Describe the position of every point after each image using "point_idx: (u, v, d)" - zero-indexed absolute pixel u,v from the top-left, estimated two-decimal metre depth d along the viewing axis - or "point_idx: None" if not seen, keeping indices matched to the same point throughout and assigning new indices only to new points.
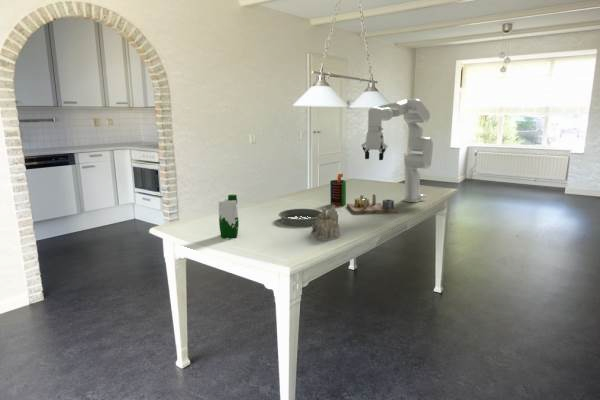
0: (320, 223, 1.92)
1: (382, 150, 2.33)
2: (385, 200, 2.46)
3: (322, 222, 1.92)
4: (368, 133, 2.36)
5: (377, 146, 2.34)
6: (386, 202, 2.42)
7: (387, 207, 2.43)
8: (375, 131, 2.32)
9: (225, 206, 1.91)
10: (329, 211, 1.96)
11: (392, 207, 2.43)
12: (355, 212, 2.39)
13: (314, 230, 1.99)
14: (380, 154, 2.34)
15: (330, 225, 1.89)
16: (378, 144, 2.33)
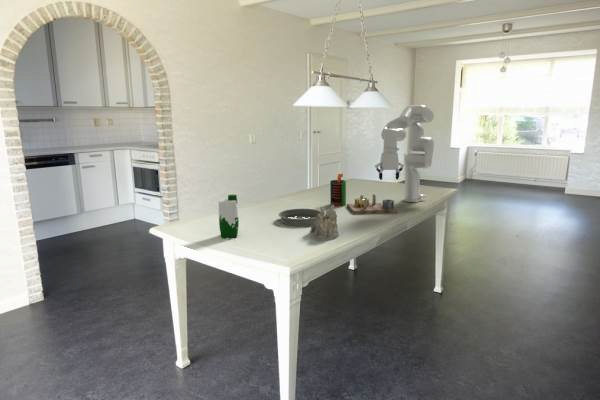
0: (319, 223, 1.93)
1: (400, 169, 2.41)
2: (385, 200, 2.46)
3: (321, 222, 1.92)
4: (386, 154, 2.37)
5: (396, 166, 2.39)
6: (386, 202, 2.42)
7: (387, 207, 2.43)
8: (395, 152, 2.37)
9: (225, 206, 1.91)
10: (328, 211, 1.97)
11: (392, 207, 2.43)
12: (355, 212, 2.39)
13: (313, 230, 2.00)
14: None
15: (329, 225, 1.90)
16: (397, 164, 2.39)
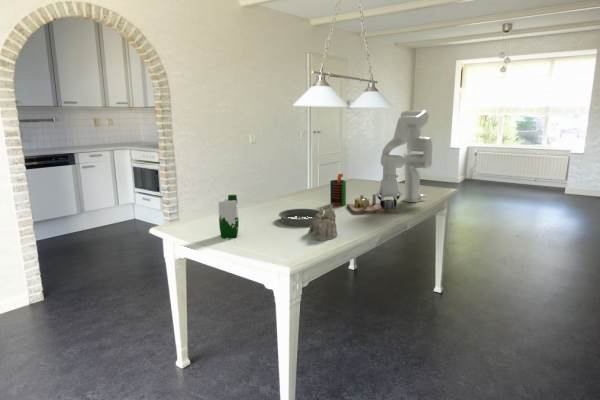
0: (318, 223, 1.93)
1: (397, 197, 2.44)
2: (385, 200, 2.46)
3: (320, 222, 1.93)
4: (385, 181, 2.40)
5: (395, 193, 2.42)
6: (386, 202, 2.42)
7: (387, 207, 2.43)
8: (394, 179, 2.40)
9: (225, 206, 1.91)
10: (326, 211, 1.97)
11: (392, 207, 2.43)
12: (355, 212, 2.39)
13: (311, 230, 2.00)
14: (395, 201, 2.44)
15: (328, 225, 1.90)
16: (396, 191, 2.42)
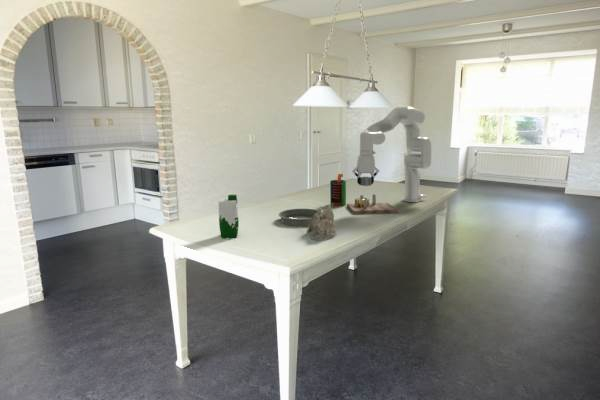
0: (316, 223, 1.93)
1: (374, 174, 2.40)
2: (362, 177, 2.41)
3: (318, 222, 1.93)
4: (362, 157, 2.36)
5: (372, 169, 2.38)
6: (363, 179, 2.38)
7: (364, 184, 2.38)
8: (371, 155, 2.36)
9: (225, 206, 1.91)
10: (325, 211, 1.97)
11: (369, 184, 2.39)
12: (355, 212, 2.39)
13: (310, 230, 2.00)
14: (372, 178, 2.40)
15: (326, 225, 1.90)
16: (373, 167, 2.38)
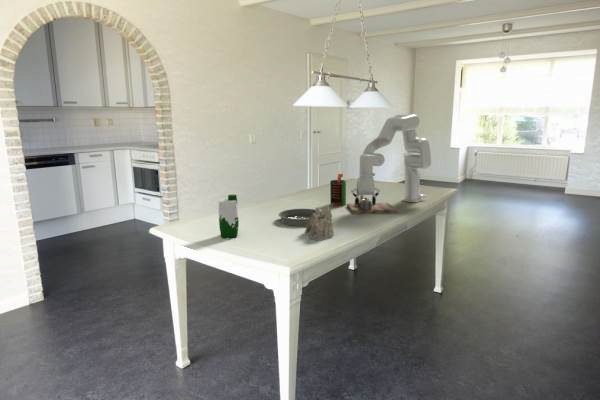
0: (314, 223, 1.93)
1: (376, 194, 2.43)
2: (362, 201, 2.44)
3: (316, 221, 1.93)
4: (362, 179, 2.39)
5: (372, 191, 2.41)
6: (363, 203, 2.41)
7: (364, 208, 2.42)
8: (371, 177, 2.38)
9: (225, 206, 1.91)
10: (323, 210, 1.98)
11: (369, 208, 2.42)
12: (355, 212, 2.39)
13: (308, 230, 2.00)
14: (374, 198, 2.43)
15: (325, 224, 1.91)
16: (373, 189, 2.41)
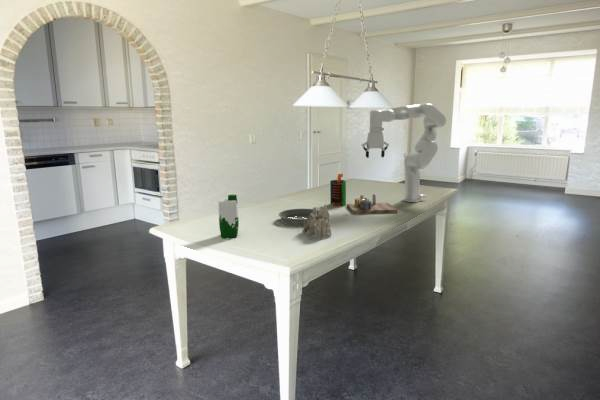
0: (312, 222, 1.94)
1: (385, 148, 2.59)
2: (362, 201, 2.44)
3: (314, 221, 1.94)
4: (372, 133, 2.55)
5: (381, 145, 2.57)
6: (363, 203, 2.41)
7: (364, 208, 2.42)
8: (380, 131, 2.55)
9: (225, 206, 1.91)
10: (320, 210, 1.98)
11: (369, 208, 2.42)
12: (355, 212, 2.39)
13: (305, 229, 2.00)
14: (383, 152, 2.59)
15: (323, 224, 1.91)
16: (382, 143, 2.57)
